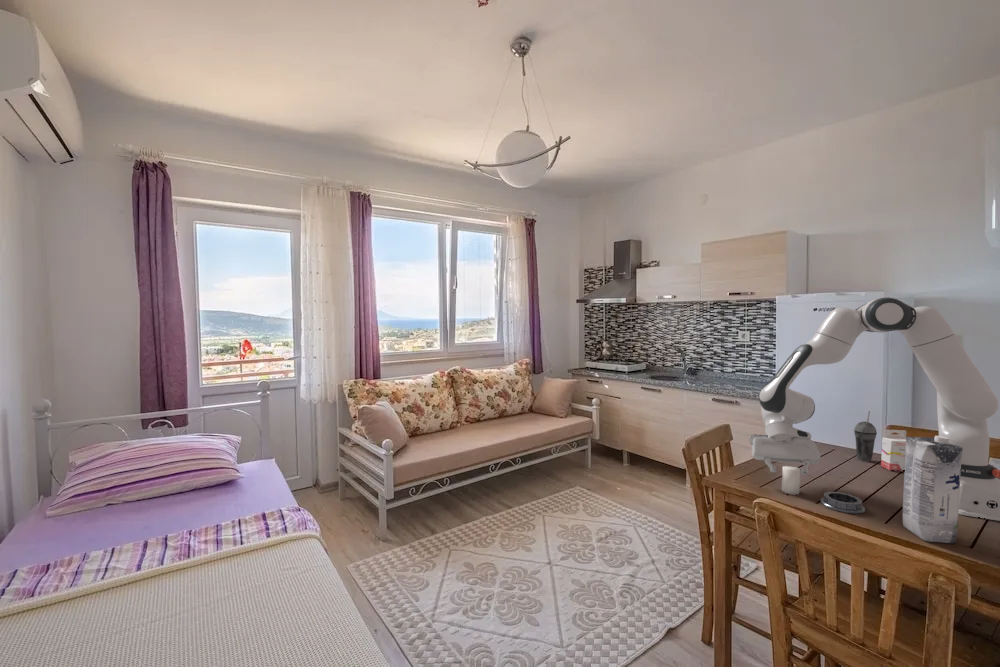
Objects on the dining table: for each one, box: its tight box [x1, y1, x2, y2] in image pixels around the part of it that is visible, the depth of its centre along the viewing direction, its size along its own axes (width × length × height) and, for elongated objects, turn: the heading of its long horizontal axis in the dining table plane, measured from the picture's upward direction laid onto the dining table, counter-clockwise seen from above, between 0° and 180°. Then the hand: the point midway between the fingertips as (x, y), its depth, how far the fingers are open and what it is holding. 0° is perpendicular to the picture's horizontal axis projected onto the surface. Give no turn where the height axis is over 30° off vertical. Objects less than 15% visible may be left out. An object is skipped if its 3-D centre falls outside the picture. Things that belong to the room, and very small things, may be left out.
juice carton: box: [902, 435, 963, 545], centre depth 122 cm, size 9×10×27 cm
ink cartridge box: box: [880, 429, 907, 471], centre depth 173 cm, size 9×5×15 cm, turn 84°
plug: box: [781, 465, 801, 496], centre depth 152 cm, size 5×5×8 cm
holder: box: [820, 491, 866, 515], centre depth 141 cm, size 11×11×3 cm
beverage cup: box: [853, 410, 878, 462], centre depth 184 cm, size 7×7×20 cm
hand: (789, 472), depth 154 cm, fingers open, 8 cm apart
